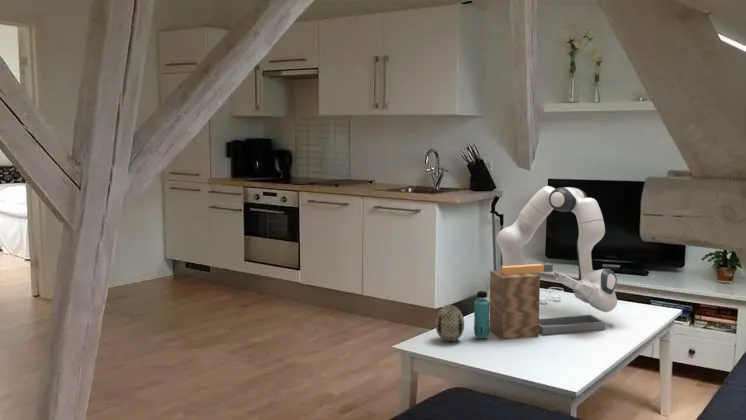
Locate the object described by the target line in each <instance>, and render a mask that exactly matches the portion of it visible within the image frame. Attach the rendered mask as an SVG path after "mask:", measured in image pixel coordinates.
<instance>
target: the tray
mask: <svg viewBox="0 0 746 420" xmlns="http://www.w3.org/2000/svg"><path fill="white" fill-rule="evenodd" d="M605 330H606V322H605V321H603V320H602V319H600V318H597V317H596V316H594V315H592V314H582V315H572V316H571V315H568V316H567V315H566V316H557V317H555V316H554V317H544V318H539V334H540V335H541V336H543V337H545V336H553V335H564V334H565V335H567V334H576V333H577V334H578V333H588V332H589V333H590V332H600V331H605Z"/></svg>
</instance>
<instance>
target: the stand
mask: <svg viewBox="0 0 746 420" xmlns="http://www.w3.org/2000/svg"><path fill="white" fill-rule="evenodd" d="M489 273H490V274H489V277H490V278H489V289H490V304H489V320H490V321H489V332H491V333H493V334H494V335H496V337H498V338H499V339H500V340H502V341H504V340H505V341H506V340H517V339H528V338H539V337H540V336H539V334H540V333H539V319H540V296H541V295H540V292H541V291H540V290H541V275H539V274H537V273H525V274H510V275H503V274H501V269H499V270H498V269H497V270H495V269H494V270H490V271H489Z"/></svg>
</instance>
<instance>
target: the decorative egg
mask: <svg viewBox="0 0 746 420" xmlns="http://www.w3.org/2000/svg"><path fill="white" fill-rule="evenodd" d="M462 313H463V312H462V311H461V310H460V309H459V307H457V306H455V305H454V304H448V305H444V306H443V307H441V309H440V310H439V311H438V313H437V314H436V318H435V329H436V333H437V335H438V336H439V338H441V339H442V340H443V341H446V342H454V341H456V340H458V339H460V338H461V337H462V335H463V333H464V330H465V320H464V316H463V314H462Z"/></svg>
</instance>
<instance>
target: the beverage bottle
mask: <svg viewBox="0 0 746 420" xmlns="http://www.w3.org/2000/svg"><path fill="white" fill-rule="evenodd" d="M487 295H488V292H487V291H483V290H481V291H477V295H476V297H477V299H476V300H475V301H474V309H473V310H474V311H473V316H474V318H473V319H474V320H473V335H474V336H475V337H477V338H488V337H489V336H490V330H489V324H490V302H489V301H488V300H487V299H483V298H487Z"/></svg>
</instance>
